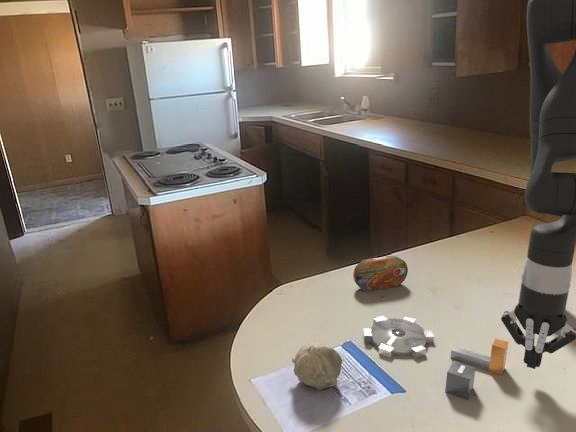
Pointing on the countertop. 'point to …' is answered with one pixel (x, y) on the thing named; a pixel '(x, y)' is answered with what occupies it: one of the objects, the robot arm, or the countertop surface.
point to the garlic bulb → (317, 365)
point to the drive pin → (484, 357)
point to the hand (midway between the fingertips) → (531, 365)
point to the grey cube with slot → (460, 380)
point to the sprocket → (398, 337)
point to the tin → (380, 273)
